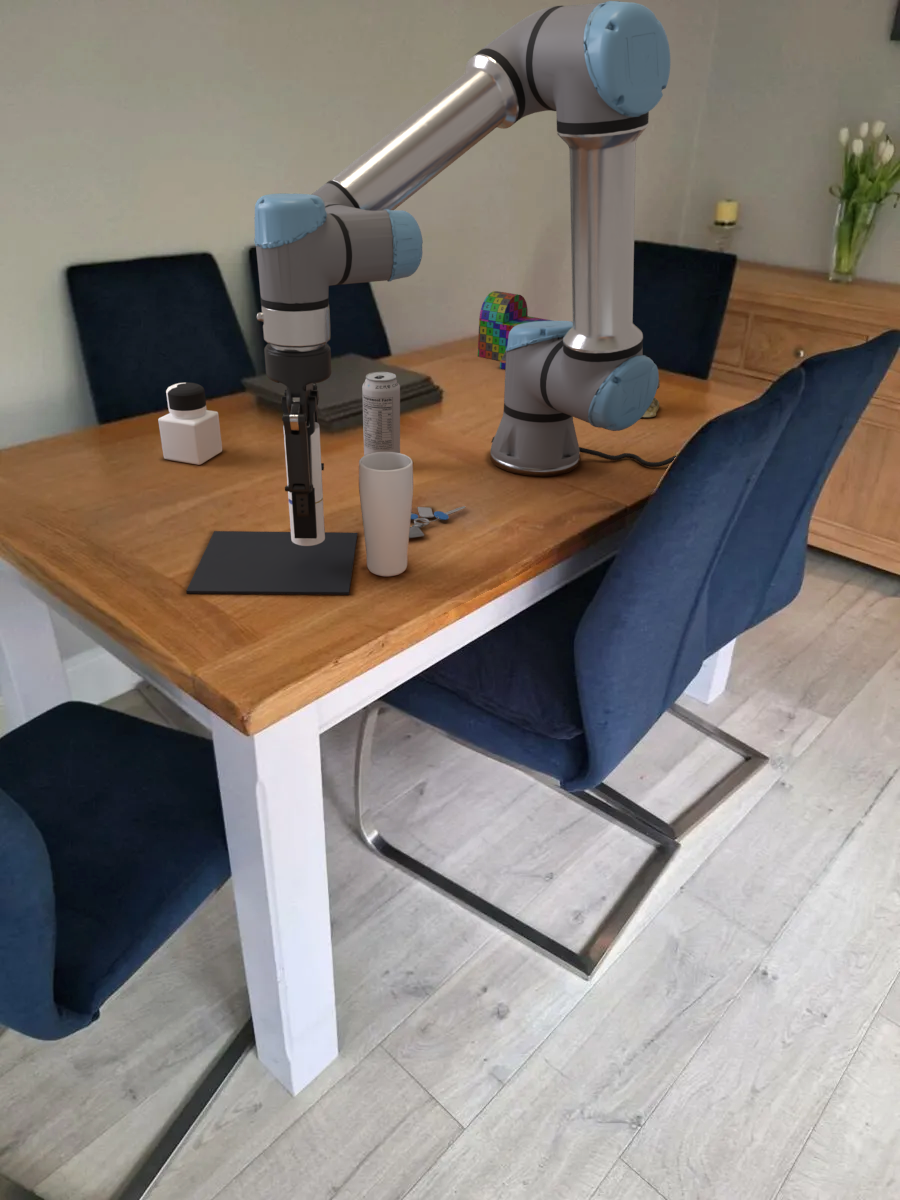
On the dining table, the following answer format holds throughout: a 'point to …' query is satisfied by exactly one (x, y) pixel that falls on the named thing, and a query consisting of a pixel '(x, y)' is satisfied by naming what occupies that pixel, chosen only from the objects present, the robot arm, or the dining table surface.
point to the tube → (318, 492)
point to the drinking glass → (386, 510)
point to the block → (500, 323)
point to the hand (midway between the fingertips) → (308, 528)
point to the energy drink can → (381, 413)
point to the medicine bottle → (189, 426)
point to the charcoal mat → (274, 564)
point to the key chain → (425, 513)
